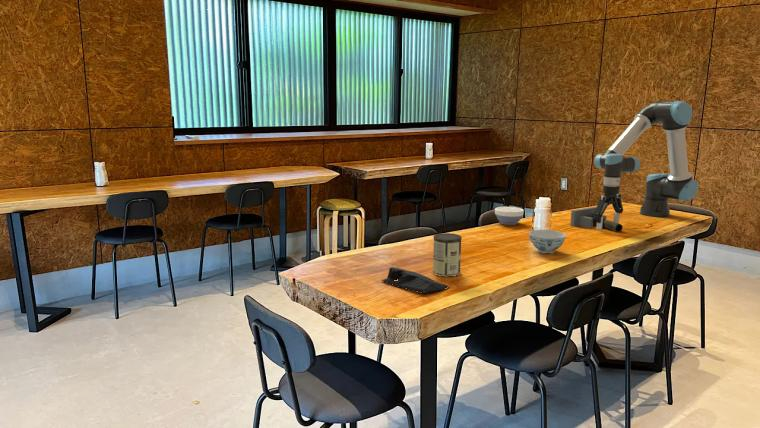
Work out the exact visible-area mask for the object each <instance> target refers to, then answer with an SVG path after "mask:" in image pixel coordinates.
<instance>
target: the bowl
mask: <svg viewBox="0 0 760 428" xmlns="http://www.w3.org/2000/svg"><path fill="white" fill-rule="evenodd" d="M524 212H525V211H524V209H523V208H521V207H516V206H499V207H495V209H494V214H495V217H496V219H497V220H498V221H499V224H501V225H503V226H515V225H518V223H519V222H520V221H521V219H522V218H523V215H524Z"/></svg>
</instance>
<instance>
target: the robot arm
mask: <svg viewBox="0 0 760 428" xmlns="http://www.w3.org/2000/svg"><path fill="white" fill-rule="evenodd" d="M692 117H693V109H692V106H691V105H690V104H689V103H688V102H686V101H681V100H657V101H653V102H652V103H651V102H650V103H649V104H647V105H646V106H644V107H643V108H642V109H640V110H639V111H638V112H637V113H636V114H635V116H633V120H632V122H631V123H630V124H629V125H628V126H627V127H626V128H625V130H624V131H623V132H622V133H621V134H620V135H619V137H617V139H616V140H615V141H614V142H612V144H611V146H609V148H608V149H607V151H604V153H598V154H597V155H596V156H595V157H594V160H593V163H594V166H595V167H596V168H598V169H601V170H604V174H603V181H602V182H603V187H602V193H603V194H604V195H600V196H599V198H598V199H599V200H598V202H597V208H596V210H595V213H594V215H595V216H597V226H596V227H595V228H596V230H603V228H602V223H603V216H602V215H604V214H605V212H606V209H607V208H608V206H610V205H612V207H613V210H614V212H613V220H612V222H615V223H619V224H620V217H621V214H623V212H624V207H623V206H624V205H623V202H622V194H621V193H620V189H621V188H620V185H621V176H622V173H634V172H637V171H638V170H639V169H640V167H641V162H640V159H639V158H638V157H636V156H624V155H625V153H626V152H627V151H628V150H629V148H630V147H631V146H632V145H633V144H634V143H635V142H636V141H637V139H639V138H640V136H641V135H642V134H644V132H645V130H648V129H650V128H651V127H652V126H653V125H655V124H659V125H661V126H662V130H663V131H664V132H665V135H666V136H665V137H666V143H667V154H668V155H667V156H668V157H667V158H668V167H669V173H650V174H648V175H647V176H646V177H647V178H646V181H645V195H644V201H643V203H642V204H641V206H640V209H639V213H640V214H641V215H643V216H649V217H654V218H655V217H657V218H665V217H667V218H668V217H670V215H671V210H670V207H669V206H670V205H669V201H668V200H669V199H672V200H677V201H680V202H682V201H684V202H689V201H691V200H693V199H694V198H695V196H696V194H697V192H698V189H699V183H698V181H697V180H695V179H693V174H692V173H691V172H689V163H688V152H687V151H688V149H687V142H686V129H687V127H689V124H690V122H691V121H692Z"/></svg>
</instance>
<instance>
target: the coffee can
mask: <svg viewBox="0 0 760 428" xmlns="http://www.w3.org/2000/svg"><path fill="white" fill-rule="evenodd" d="M462 239H463V237H462V235H459V234H458V233H457V234H456V233H452V232H451V233H449V232H448V233H447V232H444V233H443V232H441V233H436V234H434V235H433V256H432V257H433V259H432V261H433V262H432V263H433V264H432V268H433V269H432V274H433V273H434V274H433V275H435V274H437V275H440V276H439V277H441V276H455V277H457V276H456V275H458V276H460V275H461V258H462V257H461V256H462V255H461V254H462ZM459 274H460V275H459ZM437 275H436V276H437Z"/></svg>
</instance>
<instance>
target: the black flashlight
mask: <svg viewBox="0 0 760 428" xmlns="http://www.w3.org/2000/svg"><path fill="white" fill-rule="evenodd" d="M592 226H593V227H595V228H596V226H597V216H593V225H592ZM604 228H605V229H607V230H611V231H613V232H616V233H621V232H622V231H623V229H624V228H623V225H622V224H621V223H620V222H619V223H615V222H613V220H612V221H611V220H608V219H606V220H605V219H604V218H603V223H602V229H604Z"/></svg>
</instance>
